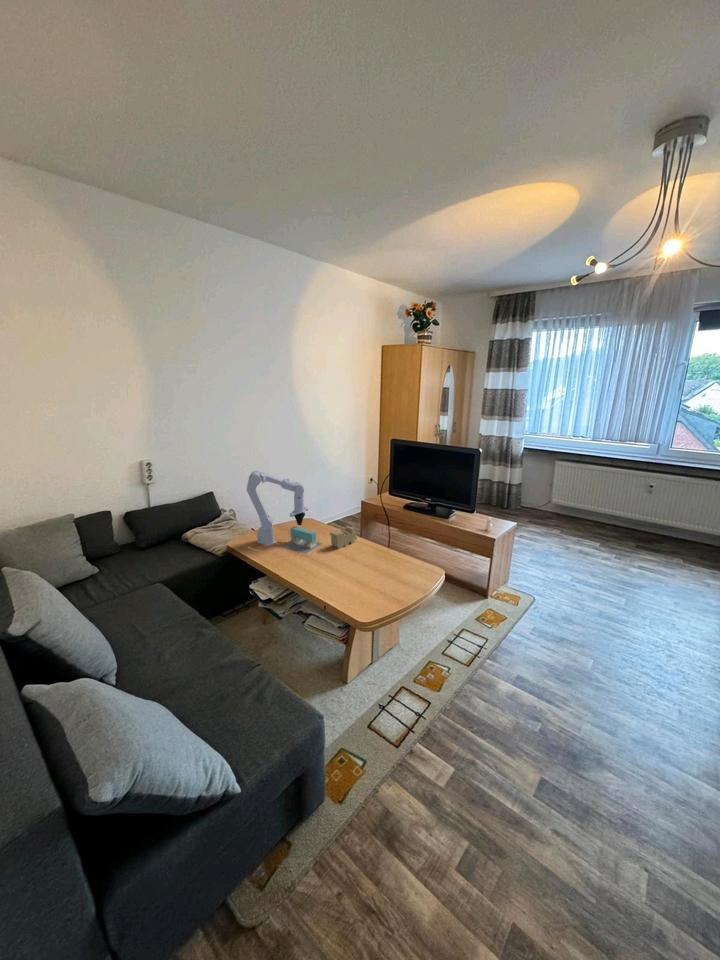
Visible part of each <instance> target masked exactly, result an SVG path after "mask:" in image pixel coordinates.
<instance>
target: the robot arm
mask: <svg viewBox="0 0 720 960" xmlns="http://www.w3.org/2000/svg"><path fill="white" fill-rule="evenodd" d="M247 481H248V482H247V484H246V492H247V494H248V496H249V498H250V500H251V502H252V505H253V506H254V509H255V511H256V513H257V515H258V519H259V521H260V525H261V526H260V527H258V529H257V531H256V537H257V539H256V540H257V541H256V543H257V544H261V545H265V546H268V547H269V546H271V545H273V544H274V543H276V542H278V541H277V540H276V539H274V537H275V536H274V535H275V534H274V526H273V518H272V516H270V515H269V514H268V512H267V511H266V508H265V507H264V504H263V502H262V500H261V498H260V496H259V493H258V491H257V487H258V486H259V485H260V484H261V483H262V484H264V483H266V482H269V483H271V484H275V485H279V486H280V487H281V489H284V490H287V491H290V492H293V493H294V496H293V504H294V505H293V509H294V510H293V511H292V512H289V516H290V517H291V518H294V519H295V521H296V523H297V525H298V526H302V523H303V521H304V518H305V516H306V512H309V507H308V506H305V498H304V497H305V496H304V492H305V489H304V488H305V487H304V485H303V484H302V482H297V481H293V480H290V478H287V479H286V478H284V479H281V478H278V477H276V476H273V475H270V474H269V473H266V472H264V471H259V470H254V471H251V473H250V475H249V476H248V480H247Z"/></svg>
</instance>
